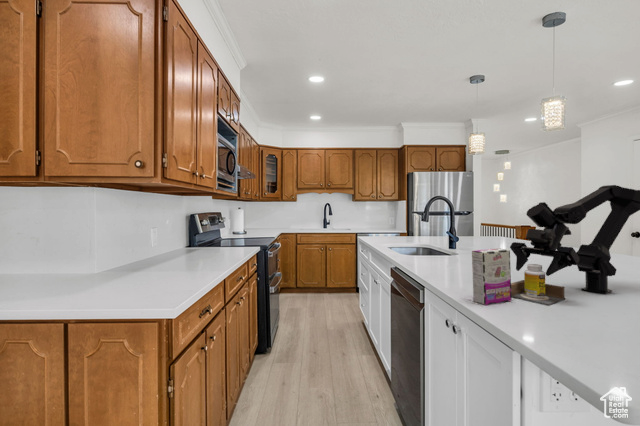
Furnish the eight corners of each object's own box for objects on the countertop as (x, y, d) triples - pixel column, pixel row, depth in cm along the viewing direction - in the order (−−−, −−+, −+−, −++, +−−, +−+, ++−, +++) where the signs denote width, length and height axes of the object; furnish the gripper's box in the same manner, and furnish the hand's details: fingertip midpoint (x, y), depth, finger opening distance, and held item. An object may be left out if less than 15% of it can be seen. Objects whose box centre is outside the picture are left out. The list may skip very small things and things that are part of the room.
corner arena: (524, 291, 108) (524, 279, 108) (565, 299, 97) (565, 286, 97) (506, 296, 102) (506, 284, 102) (548, 305, 91) (548, 292, 91)
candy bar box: (498, 297, 101) (497, 247, 101) (512, 301, 96) (511, 249, 96) (471, 301, 97) (471, 250, 97) (484, 305, 93) (484, 252, 93)
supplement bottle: (541, 299, 95) (540, 267, 95) (521, 295, 100) (521, 264, 100) (548, 296, 98) (548, 265, 98) (529, 292, 103) (528, 262, 103)
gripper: (512, 219, 109) (492, 252, 105) (573, 220, 92) (552, 260, 87) (526, 240, 112) (507, 273, 108) (588, 245, 95) (568, 284, 91)
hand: (531, 272), depth 98 cm, fingers open, 9 cm apart
